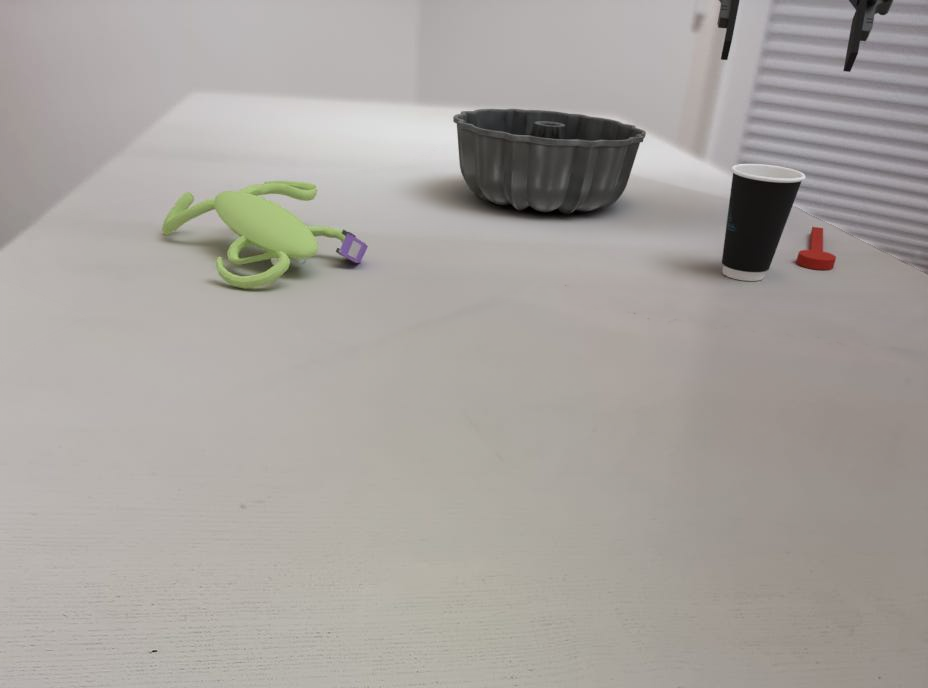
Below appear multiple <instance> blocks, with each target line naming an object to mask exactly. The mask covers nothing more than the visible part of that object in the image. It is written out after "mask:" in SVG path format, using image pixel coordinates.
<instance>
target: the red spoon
mask: <svg viewBox="0 0 928 688" xmlns="http://www.w3.org/2000/svg"><path fill="white" fill-rule="evenodd" d="M809 237H810V238H809V249H802V250H800V251H798V254H797V258H796V264H797V265H798V266H799V267H800V266H801V267H803V268H805V269H811V270H817V271H829V270H832V269H833V268H834V266H835V263H836V259H837V257H836V255H834V254H833V253H830V252H827V251H824V228H823V227H819V226H812V227H811V231H810V235H809Z"/></svg>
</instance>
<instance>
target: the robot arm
mask: <svg viewBox="0 0 928 688" xmlns="http://www.w3.org/2000/svg"><path fill="white" fill-rule="evenodd" d="M718 1H719V3H720V7H719V12H718V18H717V28H719V29H726V30H725V34H724V41H723V46H722V50H721V56H720V60H722V61H728V59H729V56H730V55H729V54H730V50H731V46H732V41H733V38H734V33H735V26H736V21H737V16H738V10H739V7H740V6H739V5H740V0H718ZM848 2H849V3H850V4H851V6H852V7H853V8H854V9H855V12H854V14H853V17H852V20H851V24H850V31H849V35H848V43H847V49H846V54H845V60H844V65H843V70H842V71H843V72H848V73H850V72H851V71H852V69H853V66H854V64H855V62H856V59H857V57H858V54H859V49H860V44H861V42H866V41H867V40H868V38H869V36H870V34H871V32H872V29H873V26H874V20H875V15H877V14H878V15H880V16H886V15H888V13H889V12H890V9H891V8H892V7H891V6H892V4H893V3H894V0H848Z"/></svg>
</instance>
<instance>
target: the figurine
mask: <svg viewBox="0 0 928 688" xmlns="http://www.w3.org/2000/svg"><path fill="white" fill-rule="evenodd" d="M317 194H318V187H317V185H315V184H313V183H311V182H305V181H294V180H269V181H264V183H260V184H259V183H257V184H252V185H249V186H248V185H247V186H246V187H243V188H242V189H240V190H226V191H222V192H219V193H218V194H216V195H215V197H214V198H207V199H205V200H202V201H200V202H198V203H195V204H194V205H192V204H193V203H194V201H195V197H194V194H192V193H191V192H189V191H186V192H184V193H183V194H182V195H181V196H180V198H178V199H177V201H176V203H175V204H174V206H172V208H171V209H170V210H169V211H168V213H167V215H166V216H165V218H164V220H163V223H162V226H161V232H162V233H163V235H165V236H169V235H171V234H172V232H175V231H177V230H178V229H179V228H180V227H182V226H183V225H185V224H186V223H188V222H189V221H191V220H193V219H196V218H198V217H199V216H201V215H204V214H206V213H208V212H211V211H213V210H215V212H216V214H217V215H218V217H219V218H220V219H221V220H222V222H223V223H224V224H225V225H226V226H227V227H228V228H229V229H230V230H231V231H232V232H233V233H234V234H236V235H237V236H239V237H238V238H237V239H235V240H234V241H233V242H231V243H230V246H229V247H228V250H226V251H227V252H226V255H227V260H228V262H230V263H233V264H234V265H246V264H251V263H255V262H260V261H265V260H270V262H271V264H272V266H271V267H270V268H268V269H267V270H266V271H263V272H260V273H257V274H252V275H243V276H242V275H237V274H235V273H232V272H230V271H228V269H226V267H225V266H224V261H223V258H222V257H221V256H218V257H216V260H215V265H216V269H217V273H218V275H219V276H220V278H221V279H222V280H223V281H225V282H226V283H227V284H229V285H231V286H233V287H235V288H240V289H243V290H245V289H253V288H258V287H263V286H266V285H269V284H271V283H274V281H276V280H277V279H279V278H280V277H281V276H283V275H284V274H285V272H287V271H288V270H289V267H290V264H291V259H292V260H293V261H294V262H295V263H297V264H305V263H306V259H309V258H310V259H311V258H312V257H315V255H316V254H317V253H318V251H319V242H318V240H317V238H316V237H326V238H331V239H337V240H339V241H340V242H341V246H340V248H339V247H336V250H335V253H337V254H338V255H340V256H342V257H344V258H346V259H348V260H350V261H351V262H353V263H355V264H360V263H362V260H363V258H364V256H365V254H366V252H367V249H368V247H369V246H368V244H367V243H366V242H364V241H362V240H361V239H359V238H357V236H356V235H355V234H354V233H352V232H350V231H347V230H346V229H344V228H343V229H338V228H334V227H331V226H314V225H313V226H312V225H311V226H309V225H306V223H304V222H303V221H302V220H301V219H300V218H299V217H298V216H297V215H296V214H294V213H292V211H289V210H288V209H286V207H283V206H282V205H281V204H278V203H276V202H274V201H271V199H267V198H265V197H264V196H265V195H281V196H286V197H290V198H291V199H295V200H297V201H301V202H302V201H303V202H304V201H305V202H309V201H313V200H314V199H315V198H316V196H317ZM191 205H192V206H191ZM250 245H253V247H256V248H259V249H261V250H263V251H264V252H266V253H261V254H258V255H253V256H248V257H241V258H240V257H239V255H240V254H241V252H242V251H243V250H244V249H245V248H247V247H248V246H250Z"/></svg>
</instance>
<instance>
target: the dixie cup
mask: <svg viewBox="0 0 928 688" xmlns="http://www.w3.org/2000/svg"><path fill="white" fill-rule="evenodd" d="M730 170H731V172H732V178H731V185H730V186H731V187H730V193H729V195H730V196H729V201H728V210H727V217H726V226H725V233H724V242H723V248H722V249H723V250H722V256H721V257H722V258H721V264H722V265H723V266H722V274H723V275H724V276H725V275H726V277H728V278H731V279H734V280H737V281H744V282H757V281H762V280H764V278H765V276H766V273H767V271H769V270H770V267H771V264H772V263H773V259H774V257H775V254H776V252H777V248H778V246H779V244H780V241H781V239H782V235H783V233H784V230H785V227H786V224H787V222H788V219H789V216H790V214H791V211H792V208H793V206H794V203H795V201H796V198H797V195H798V192H799V190H800V187H801V185H802V182H803V181H805V179H806V175H805V173H804V172H802V171H799V170H796V169H793V168H789V167H785V166H781V165H773V164H764V163H763V164H762V163H739V164H735V165H733V166H732V167H731V169H730Z"/></svg>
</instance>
